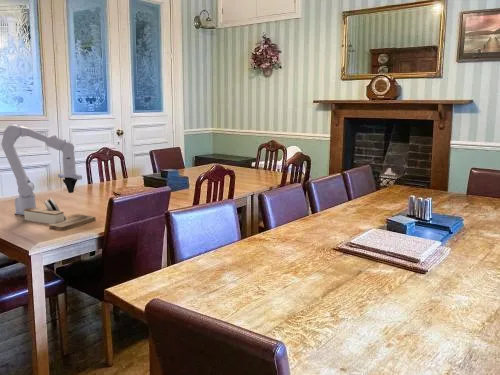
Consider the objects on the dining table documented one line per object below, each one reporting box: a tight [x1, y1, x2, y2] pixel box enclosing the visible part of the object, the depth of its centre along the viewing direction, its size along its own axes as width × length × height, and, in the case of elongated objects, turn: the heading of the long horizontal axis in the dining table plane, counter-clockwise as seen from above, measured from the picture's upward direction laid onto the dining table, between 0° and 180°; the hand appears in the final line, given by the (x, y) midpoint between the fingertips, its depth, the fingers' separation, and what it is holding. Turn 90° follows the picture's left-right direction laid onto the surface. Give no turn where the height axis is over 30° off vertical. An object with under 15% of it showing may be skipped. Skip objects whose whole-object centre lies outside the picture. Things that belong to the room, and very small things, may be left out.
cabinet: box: [23, 207, 65, 225], centre depth 218 cm, size 20×5×5 cm, turn 65°
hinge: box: [43, 198, 67, 220], centre depth 226 cm, size 17×5×10 cm, turn 32°
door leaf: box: [48, 214, 96, 231], centre depth 214 cm, size 8×20×2 cm, turn 155°
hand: (71, 192), depth 237 cm, fingers closed
